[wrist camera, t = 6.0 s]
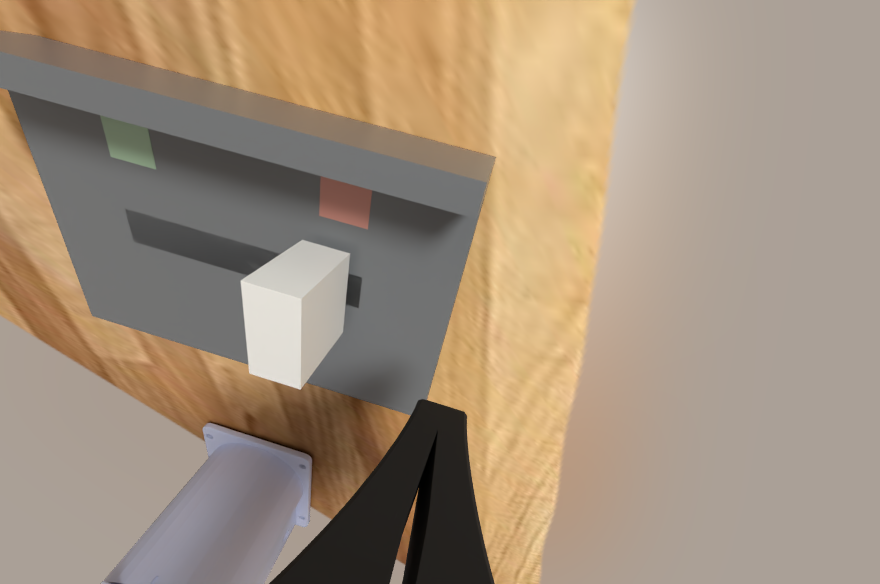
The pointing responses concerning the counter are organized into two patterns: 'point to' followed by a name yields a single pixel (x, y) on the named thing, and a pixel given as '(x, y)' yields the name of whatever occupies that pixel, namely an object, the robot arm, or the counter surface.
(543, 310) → the counter surface
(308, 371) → the knob
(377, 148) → the switch panel
